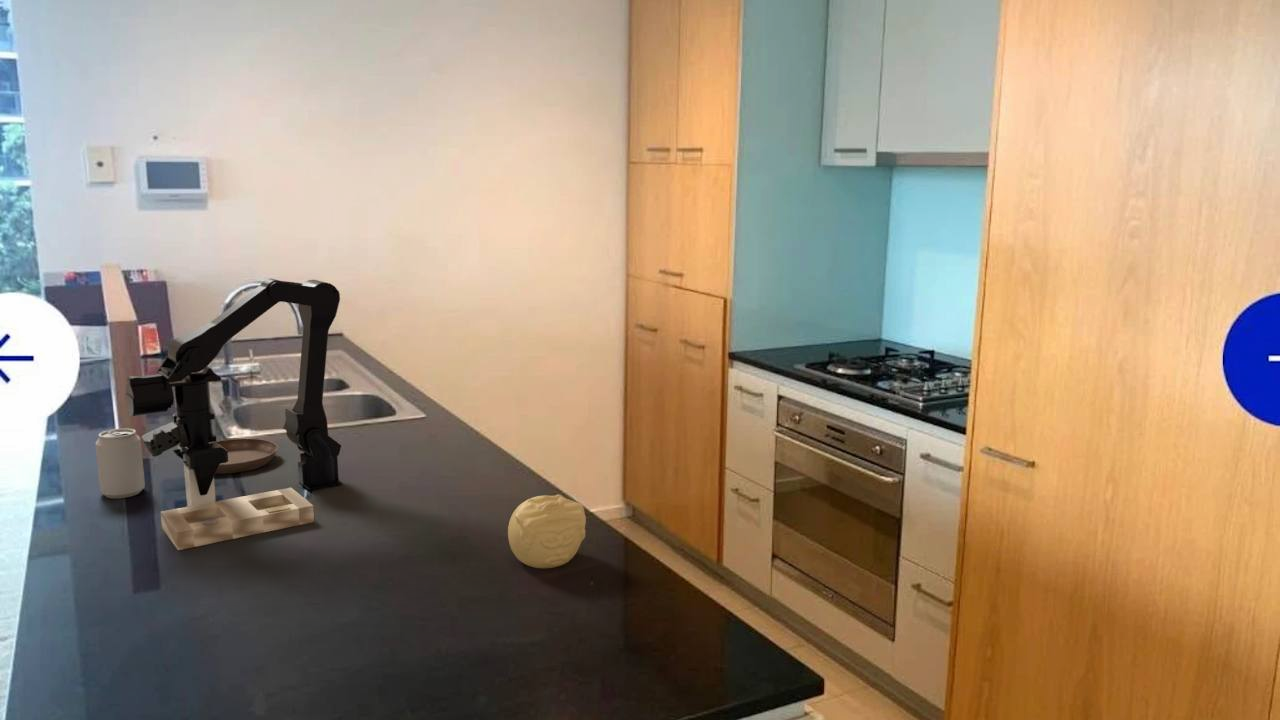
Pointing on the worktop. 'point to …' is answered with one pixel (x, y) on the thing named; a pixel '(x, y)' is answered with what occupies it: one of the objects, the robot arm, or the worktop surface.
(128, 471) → the can
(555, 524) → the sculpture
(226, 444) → the plant saucer
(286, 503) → the socket block
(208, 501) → the plug
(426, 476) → the worktop surface
